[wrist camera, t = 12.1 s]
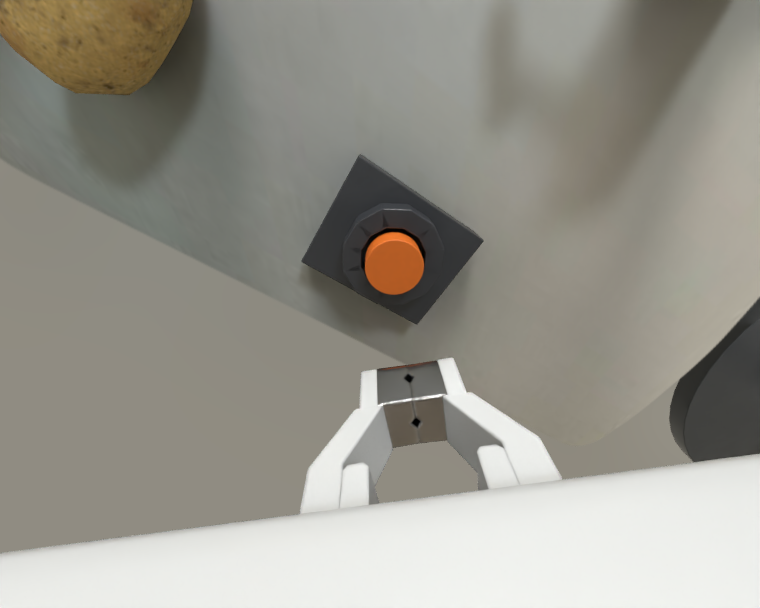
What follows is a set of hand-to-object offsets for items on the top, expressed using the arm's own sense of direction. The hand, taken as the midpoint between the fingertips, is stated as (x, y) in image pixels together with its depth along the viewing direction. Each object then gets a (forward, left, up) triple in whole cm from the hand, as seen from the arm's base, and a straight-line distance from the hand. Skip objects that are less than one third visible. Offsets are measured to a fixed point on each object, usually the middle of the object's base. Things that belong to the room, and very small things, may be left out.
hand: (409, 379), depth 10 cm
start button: (0, 0, -12) cm, 12 cm away
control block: (0, 0, -15) cm, 15 cm away
